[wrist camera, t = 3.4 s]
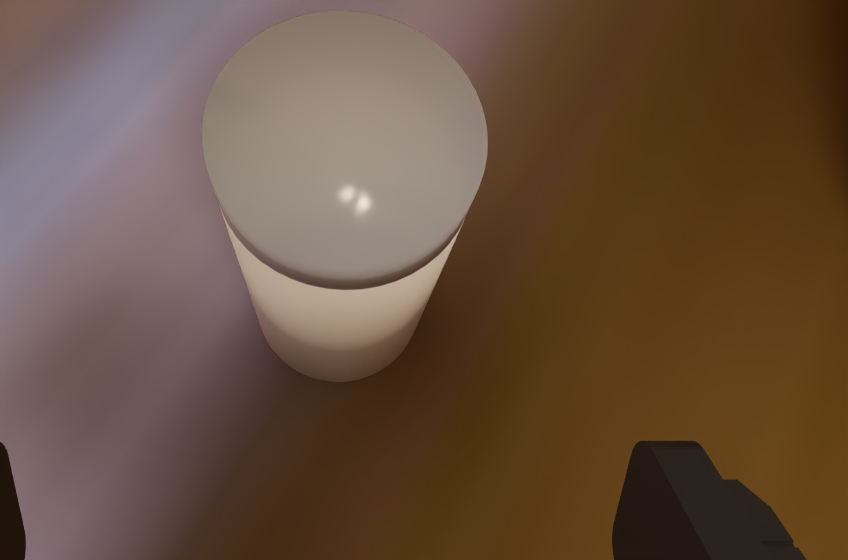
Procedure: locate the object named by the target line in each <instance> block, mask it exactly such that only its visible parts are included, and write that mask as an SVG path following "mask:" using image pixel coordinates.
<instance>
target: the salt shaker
mask: <svg viewBox="0 0 848 560" xmlns="http://www.w3.org/2000/svg"><path fill="white" fill-rule="evenodd" d="M202 148H203V155H204V161H205V164H206V167H207V171H208V174H209V177H210V180H211V183H212V186H213V189H214V192H215V195H216V198H217V201H218V204H219V207H220V209H221V212H222V215H223V218H224V221H225V224H226V227H227V230H228V233H229V236H230V239H231V242H232V244H233V247H234V250H235V253H236V256H237V259H238V262H239V265H240V268H241V271H242V274H243V276H244V279H245V282H246V285H247V288H248V291H249V294H250V297H251V300H252V303H253V306H254V309H255V311H256V314H257V317H258V320H259V323H260V326H261V329H262V332H263V334H264V336H265V338H266V340H267V342H268V344H269V345H270V347H271V348H272V350H273V351H274V352H275V353H276V355H277V356H278V357H279V358H280V359H281V360H282V361H283V362H285V363H286V364H287V365H288V366H290V367H291V368H293V369H294V370H295V371H297V372H299V373H301V374H303V375H305V376H308V377H311V378H314V379H317V380H322V381H327V382H350V381H355V380H360V379H363V378H366V377H369V376H371V375H373V374H375V373H378V372H379V371H381V370H383V369H384V368H386V367H387V366H389V365H390V364H391V363H392V362H393V361H394V360H396V359H397V357H398V356H399V355H400V354H401V353H402V352H403V351H404V349H405V348H406V346H407V345H408V343H409V341H410V339H411V337H412V335H413V333H414V331H415V329H416V327H417V325H418V322H419V320H420V318H421V316H422V313H423V311H424V309H425V307H426V304H427V302H428V300H429V298H430V296H431V293H432V291H433V289H434V287H435V284H436V282H437V280H438V278H439V275H440V273H441V271H442V269H443V267H444V264H445V262H446V260H447V258H448V255H449V253H450V251H451V249H452V246H453V244H454V242H455V240H456V238H457V235H458V233H459V231H460V229H461V226H462V224H463V222H464V220H465V217H466V215H467V213H468V211H469V209H470V206H471V204H472V202H473V200H474V197H475V195H476V193H477V191H478V188H479V186H480V183H481V180H482V177H483V174H484V171H485V165H486V160H487V149H488V135H487V126H486V120H485V116H484V112H483V108H482V105H481V103H480V100H479V98H478V95H477V93H476V90H475V89H474V87H473V85H472V83H471V82H470V80H469V78H468V76H467V75H466V74H465V72H464V71H463V70H462V68H461V67H460V66H459V64H458V63H457V62H456V61H455V60H454V59H453V58H452V57H451V56H450V55H449V54H448V53H447V52H446V51H445V50H444V49H443V48H442V47H440V46H439V45H438V44H437V43H435V42H434V41H433V40H432V39H430V38H429V37H427V36H425V35H424V34H422V33H421V32H419V31H418V30H415V29H413V28H411V27H409V26H407V25H405V24H403V23H401V22H398V21H395V20H392V19H389V18H387V17H383V16H379V15H375V14H370V13H364V12H356V11H325V12H315V13H311V14H306V15H302V16H297V17H294V18H292V19H289V20H286V21H283V22H280V23H278V24H276V25H274V26H272V27H270V28H268V29H266V30H264V31H263V32H261V33H260V34H258V35H257V36H255V37H254V38H252V39H251V40H249V41H248V42H247V43H246V44H245V45H244V46H242V47H241V48H240V49H239V50H238V51H237V52H236V53H235V54H234V55H233V56H232V58H231V59H230V60H229V61H228V62H227V63H226V65H225V66H224V68H223V69H222V71H221V72H220V73H219V75H218V76H217V78H216V80H215V82H214V84H213V86H212V89H211V91H210V93H209V96H208V99H207V102H206V106H205V109H204V115H203V122H202Z"/></svg>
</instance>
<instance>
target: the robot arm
mask: <svg viewBox="0 0 848 560" xmlns="http://www.w3.org/2000/svg"><path fill="white" fill-rule="evenodd" d="M612 546H613V555H614V560H806V559H805V557H804V556H803V554H802V553H801V551H800V550H799V548H795V547H794V545H793V540H792V538H791V537H790V535H789V534H788V532H787V531H786V529H785V528H784V526H783V525H782V523H781V522H780V520H779V519H778V517H777V516H776V514H775V513H774V511H773V510H772V509H771V507H769V506H768V505H767V504H766V503H765V502H763V501H762V500H761V499H760V498H759V497H757V496H756V495H755V494H754V493H753V492H751V491H750V490H749V489H748V488H747V487H745V486H744V485H743V484H742V483H741V482H739V481H738V480H723V479H722V478H721V476H720V474H719V473H718V471H717V470H716V468H715V466H714V465H713V463H712V462H711V460H710V459H709V457H708V455H707V454H706V452H705V451H704V449H703V448H702V446H701V445H700V444H698V443H697V442H695V441H640V442H638V443H637V444H636V445H635V446H634V448H633V451H632V454H631V457H630V461H629V465H628V469H627V473H626V477H625V481H624V485H623V489H622V493H621V497H620V501H619V505H618V509H617V513H616V517H615V521H614V525H613V533H612ZM25 549H26V539H25V531H24V526H23V521H22V517H21V512H20V507H19V503H18V498H17V494H16V489H15V484H14V480H13V475H12V471H11V466H10V461H9V457H8V453H7V450H6V448H5V446H4V445H3V444H2V443H1V442H0V560H24V559H25Z"/></svg>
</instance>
